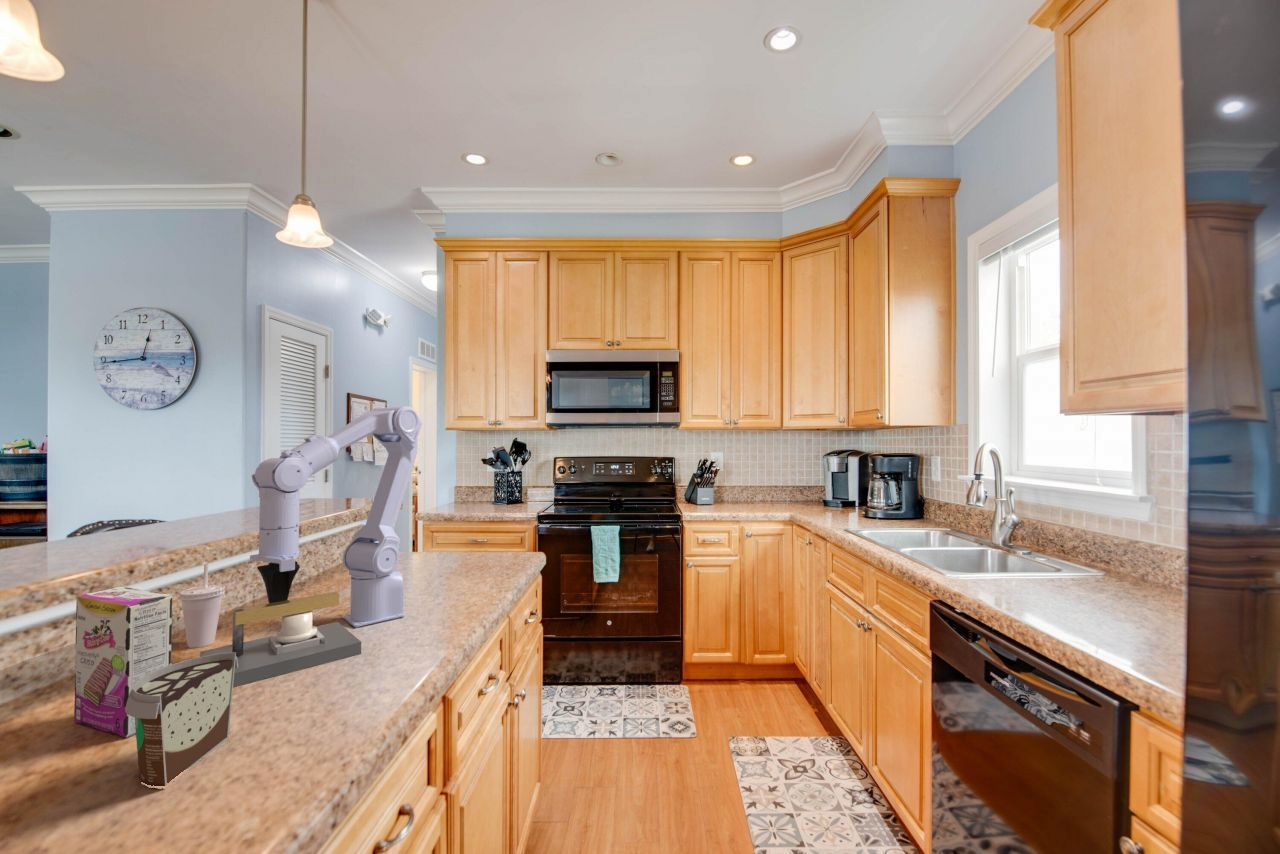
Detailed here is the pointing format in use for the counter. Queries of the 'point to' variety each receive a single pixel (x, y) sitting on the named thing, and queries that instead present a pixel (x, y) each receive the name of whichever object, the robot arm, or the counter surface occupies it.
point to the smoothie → (201, 612)
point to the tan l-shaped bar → (276, 613)
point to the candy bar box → (117, 652)
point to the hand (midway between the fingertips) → (277, 606)
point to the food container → (181, 714)
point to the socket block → (290, 653)
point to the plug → (296, 628)
